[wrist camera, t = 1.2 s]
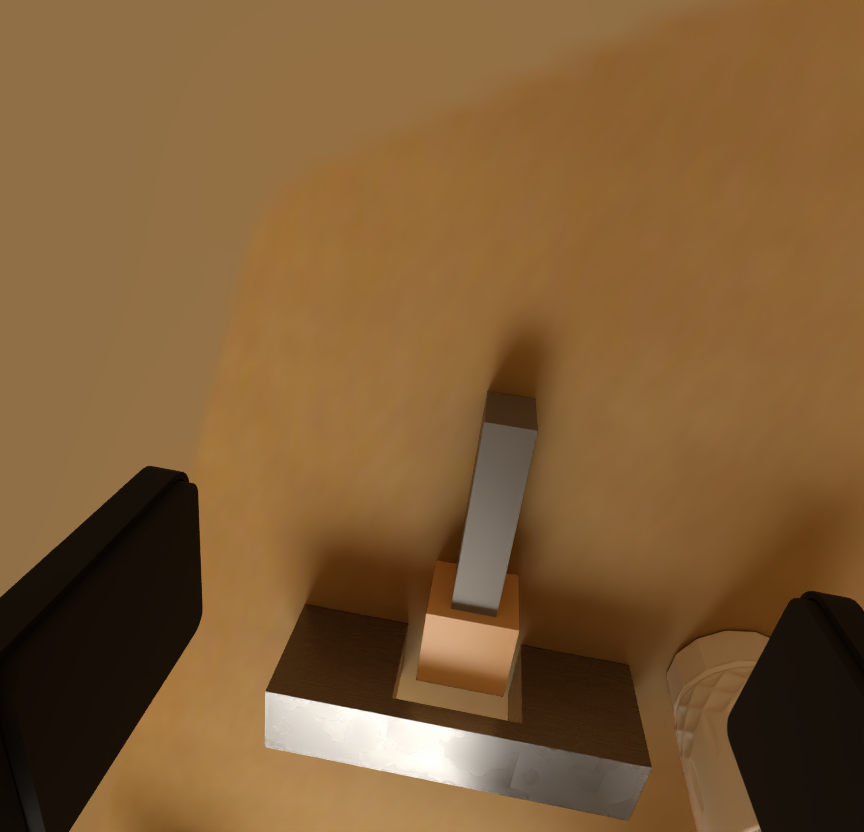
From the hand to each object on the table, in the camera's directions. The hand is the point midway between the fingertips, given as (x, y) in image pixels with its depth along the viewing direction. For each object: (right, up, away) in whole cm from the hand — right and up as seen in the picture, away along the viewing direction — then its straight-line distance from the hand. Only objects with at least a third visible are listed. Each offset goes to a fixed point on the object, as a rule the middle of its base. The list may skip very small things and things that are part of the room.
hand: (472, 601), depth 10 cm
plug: (+2, -3, +21) cm, 21 cm away
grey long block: (+1, -11, +25) cm, 27 cm away
